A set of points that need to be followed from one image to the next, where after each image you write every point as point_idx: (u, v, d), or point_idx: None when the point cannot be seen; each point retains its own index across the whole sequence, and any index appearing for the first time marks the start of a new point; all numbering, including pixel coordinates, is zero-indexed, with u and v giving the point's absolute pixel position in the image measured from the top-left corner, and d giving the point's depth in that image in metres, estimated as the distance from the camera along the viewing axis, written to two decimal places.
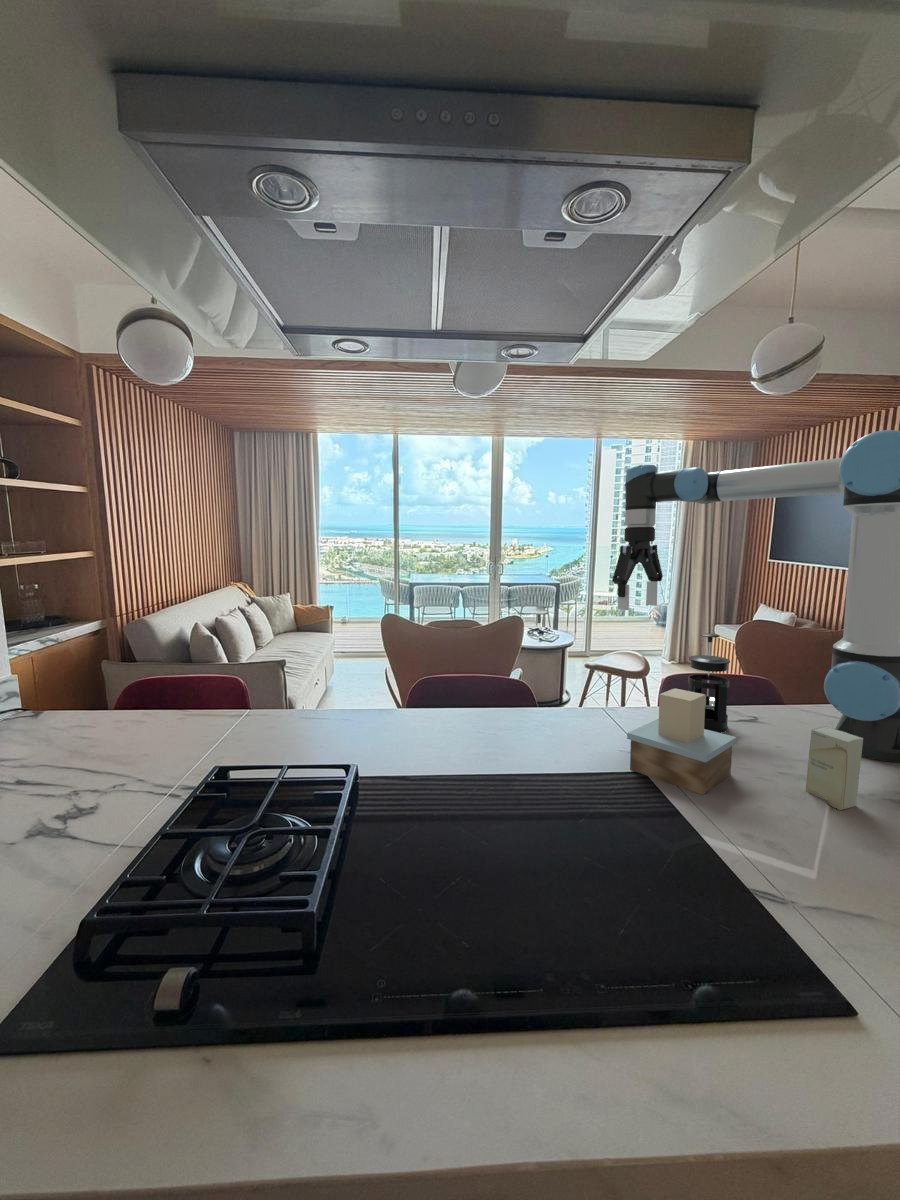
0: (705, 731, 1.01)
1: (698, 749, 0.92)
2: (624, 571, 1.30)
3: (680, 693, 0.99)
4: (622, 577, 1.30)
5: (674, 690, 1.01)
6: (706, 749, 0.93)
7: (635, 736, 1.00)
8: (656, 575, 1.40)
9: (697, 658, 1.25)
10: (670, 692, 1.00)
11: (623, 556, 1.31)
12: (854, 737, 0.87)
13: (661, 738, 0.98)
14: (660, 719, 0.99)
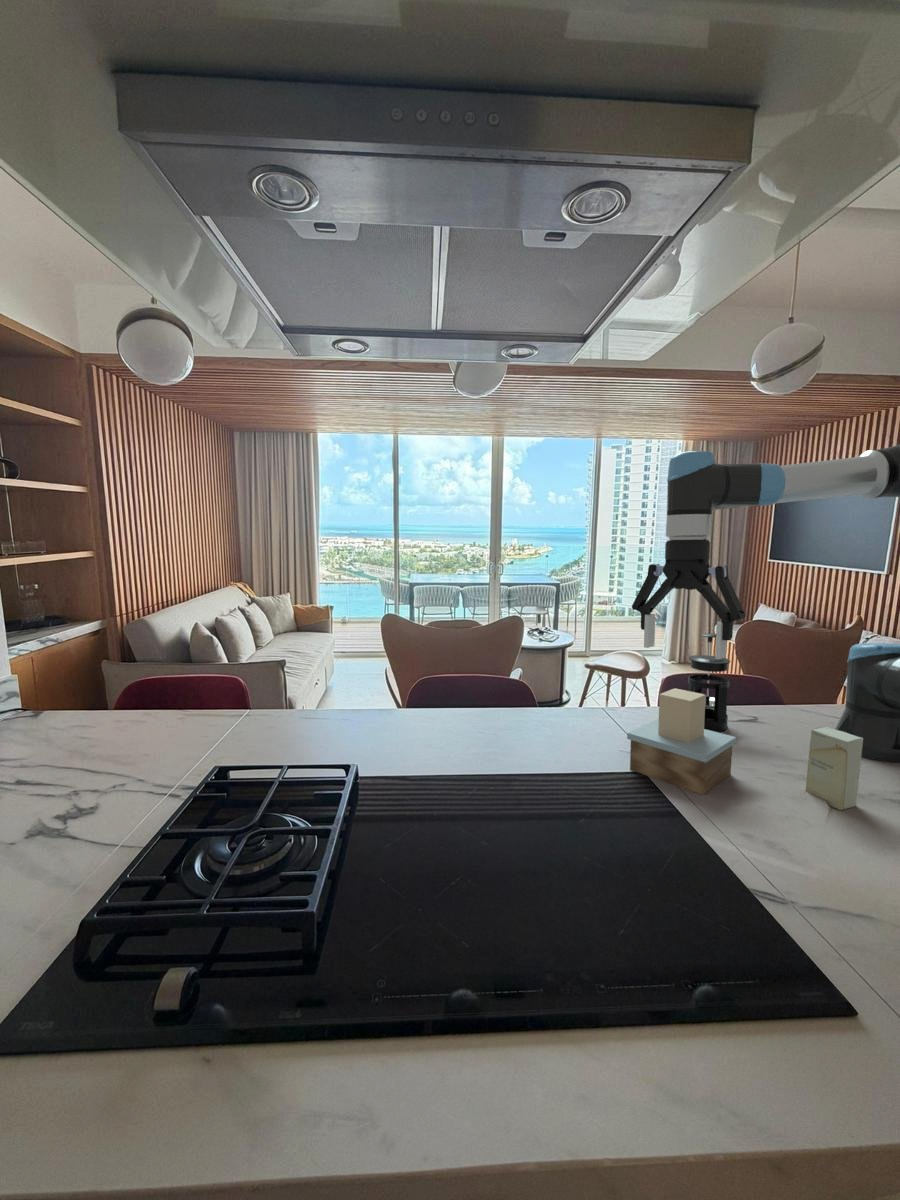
0: (705, 731, 1.01)
1: (698, 749, 0.92)
2: (639, 596, 1.03)
3: (680, 693, 0.99)
4: (635, 603, 1.03)
5: (674, 690, 1.01)
6: (706, 749, 0.93)
7: (635, 736, 1.00)
8: (720, 613, 0.91)
9: (697, 658, 1.25)
10: (670, 692, 1.00)
11: None
12: (854, 737, 0.87)
13: (661, 738, 0.98)
14: (660, 719, 0.99)
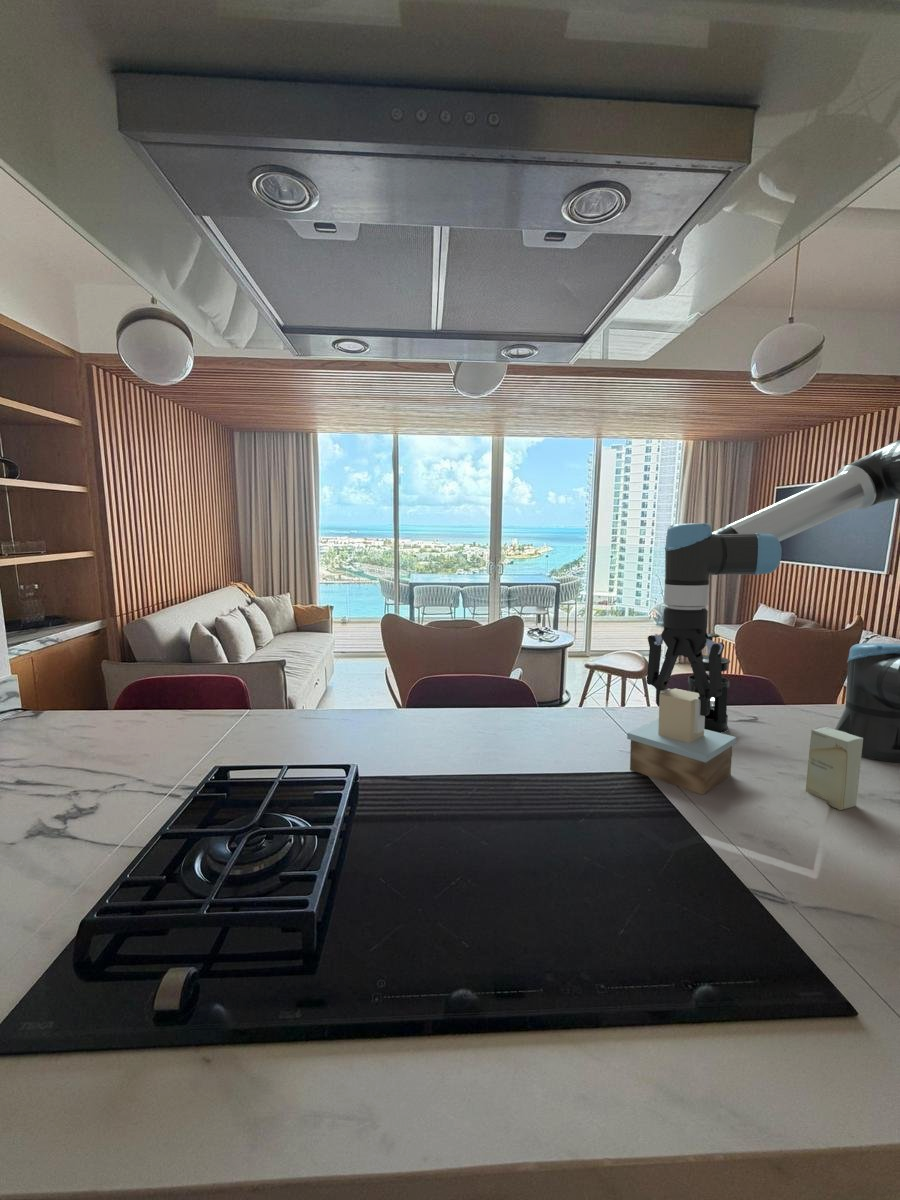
0: (705, 731, 1.01)
1: (698, 749, 0.92)
2: (650, 670, 1.02)
3: (680, 693, 0.99)
4: (649, 678, 1.02)
5: (674, 690, 1.01)
6: (706, 749, 0.93)
7: (635, 736, 1.00)
8: (700, 688, 0.95)
9: None
10: (670, 692, 1.00)
11: None
12: (854, 737, 0.87)
13: (661, 738, 0.98)
14: (660, 719, 0.99)
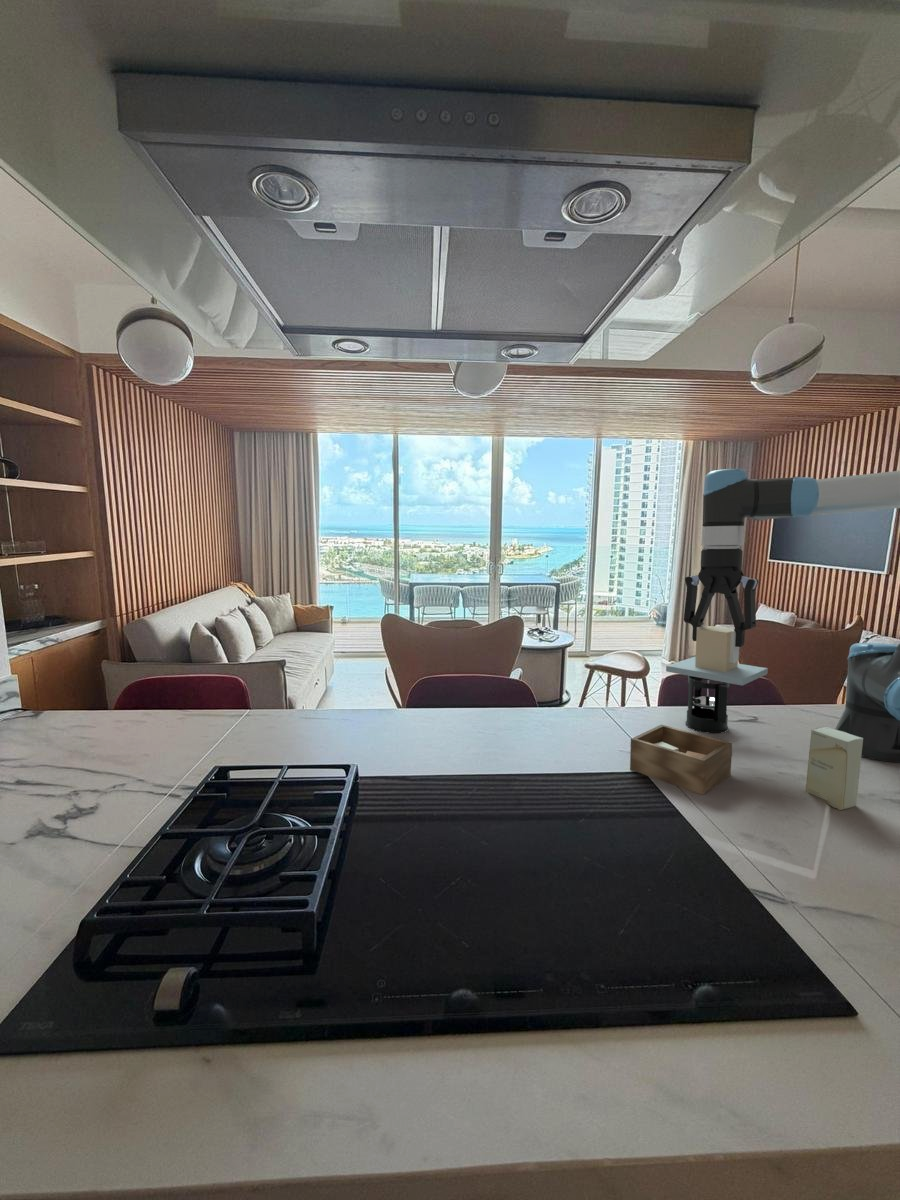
0: (738, 664, 1.10)
1: (735, 675, 1.01)
2: (687, 609, 1.11)
3: (716, 628, 1.08)
4: (686, 616, 1.11)
5: (709, 627, 1.10)
6: (741, 675, 1.01)
7: (674, 668, 1.08)
8: (736, 621, 1.03)
9: None
10: (706, 628, 1.09)
11: None
12: (854, 737, 0.87)
13: (698, 669, 1.06)
14: (697, 652, 1.08)
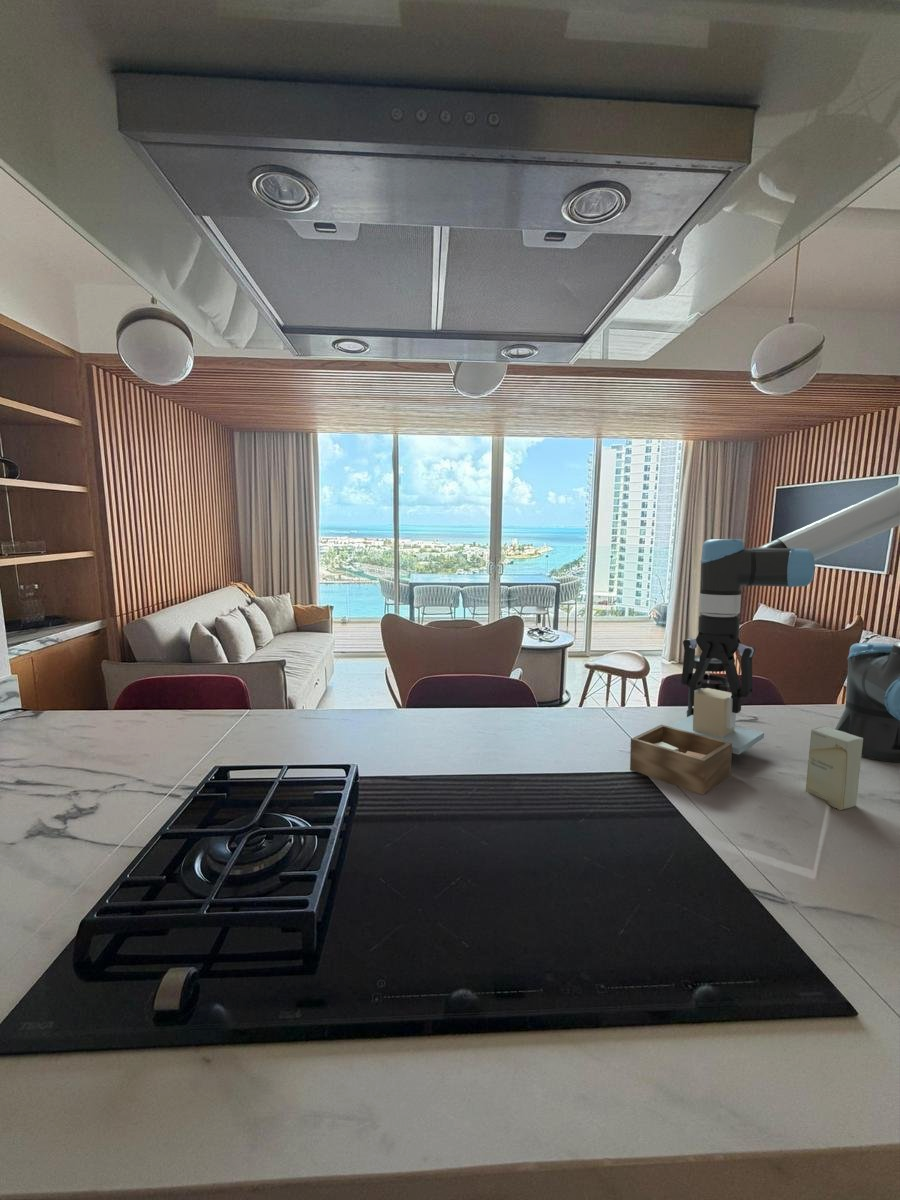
0: (735, 727, 1.11)
1: None
2: (684, 671, 1.12)
3: (713, 692, 1.09)
4: (683, 678, 1.12)
5: (707, 689, 1.11)
6: (738, 743, 1.03)
7: None
8: (732, 688, 1.05)
9: (697, 658, 1.25)
10: (704, 691, 1.10)
11: None
12: (854, 737, 0.87)
13: (695, 733, 1.08)
14: (695, 716, 1.09)
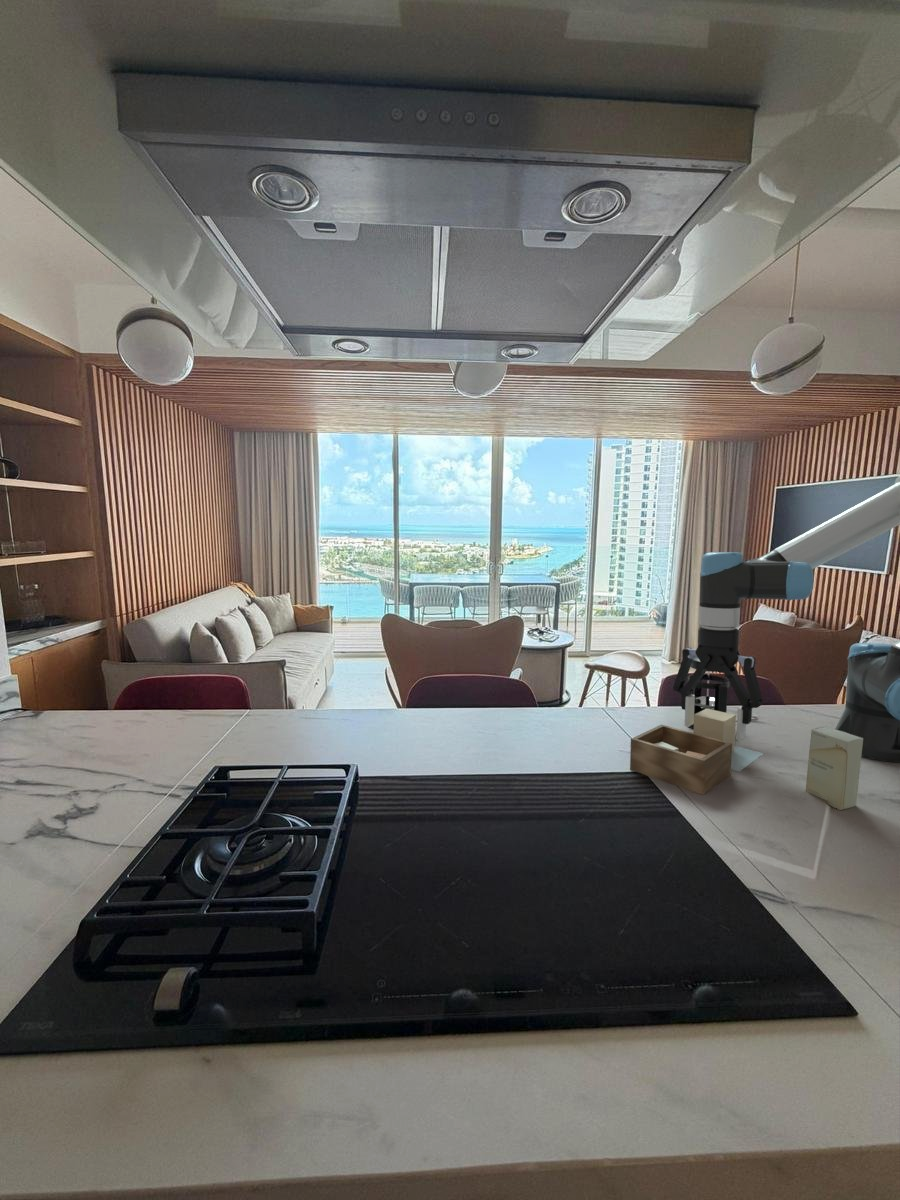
0: (735, 747, 1.12)
1: (731, 765, 1.03)
2: (678, 679, 1.13)
3: (713, 713, 1.10)
4: (675, 685, 1.14)
5: (707, 710, 1.12)
6: (738, 765, 1.03)
7: None
8: (741, 699, 1.04)
9: (697, 658, 1.25)
10: (704, 712, 1.11)
11: None
12: (854, 737, 0.87)
13: None
14: None
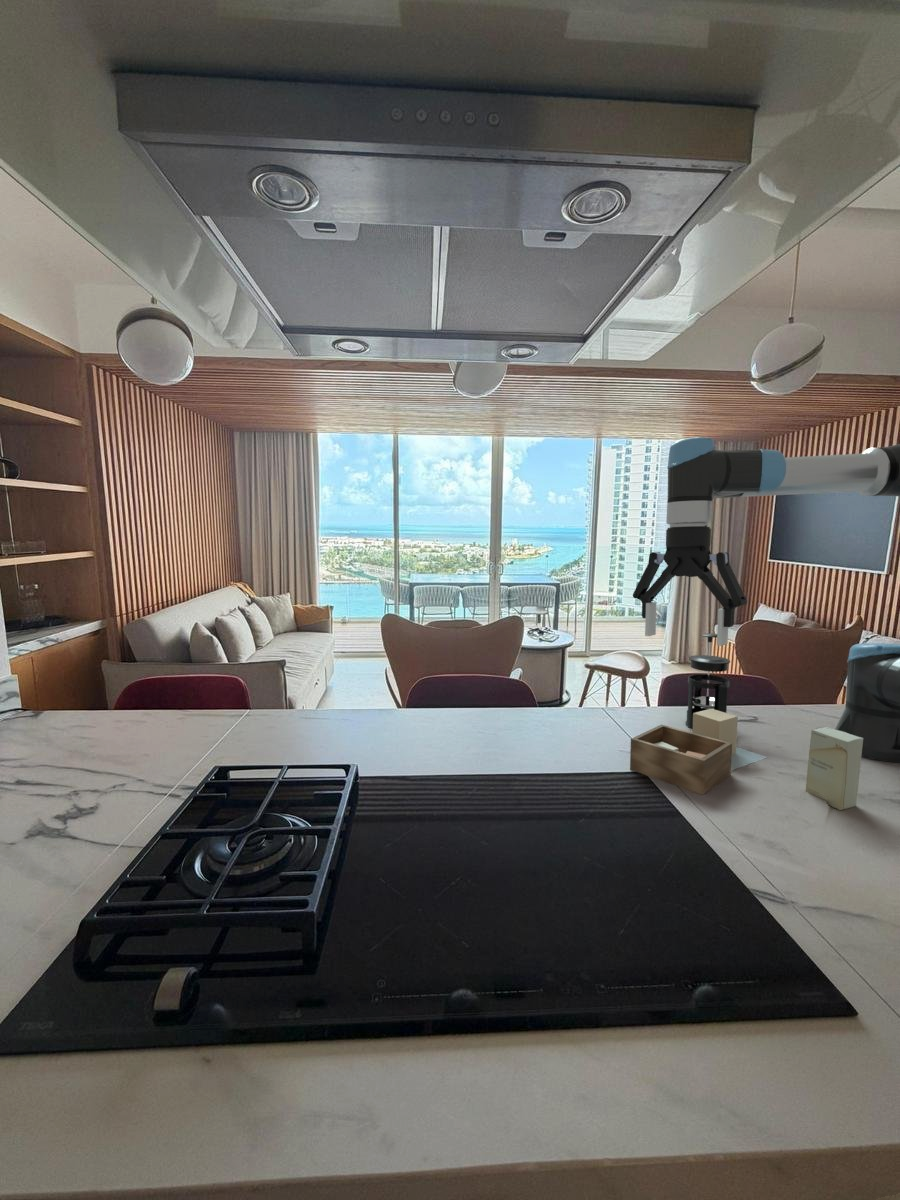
0: (739, 749, 1.11)
1: None
2: (640, 585, 1.02)
3: (714, 713, 1.10)
4: (636, 592, 1.03)
5: (709, 710, 1.12)
6: (731, 765, 1.03)
7: None
8: (721, 599, 0.91)
9: (697, 658, 1.25)
10: (705, 712, 1.11)
11: None
12: (854, 737, 0.87)
13: None
14: None
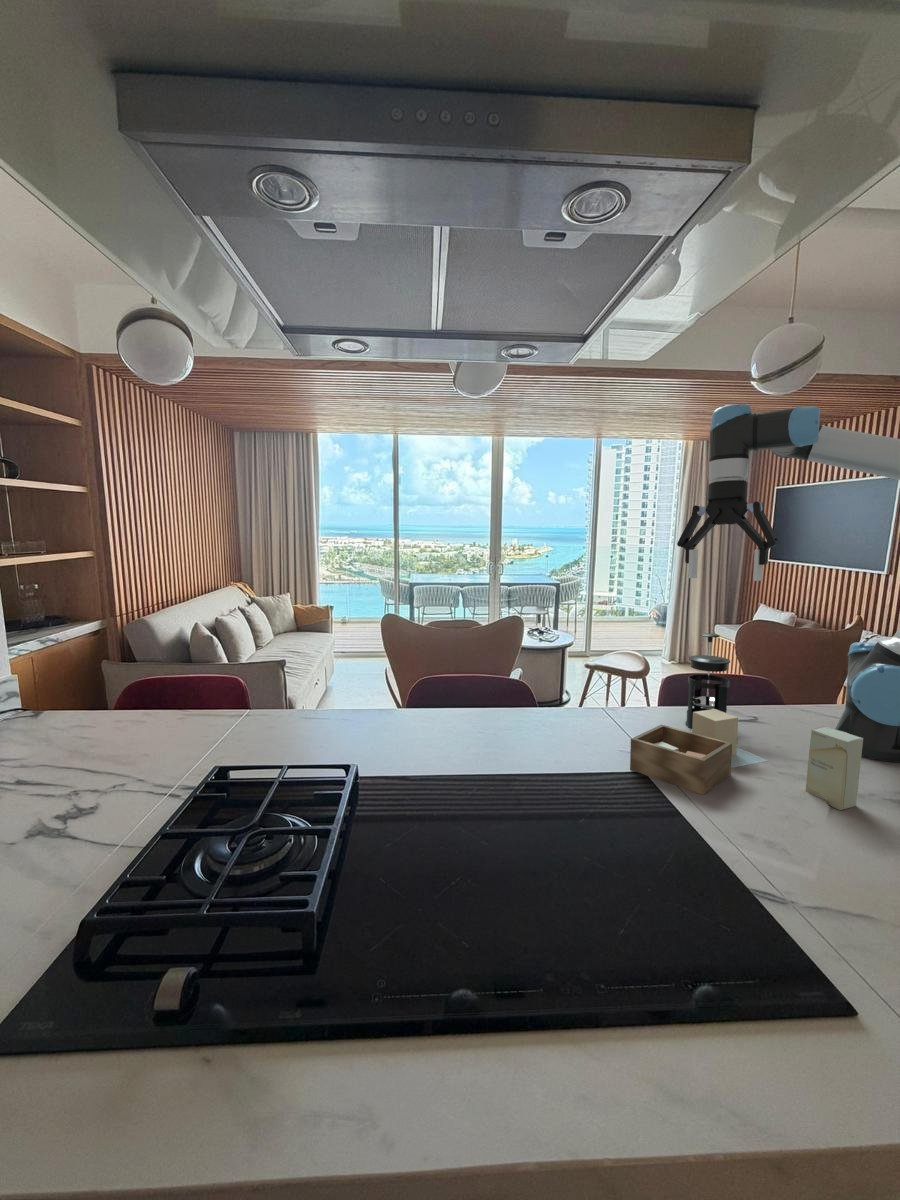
0: (742, 751, 1.10)
1: None
2: (684, 534, 1.19)
3: (714, 713, 1.10)
4: (680, 541, 1.20)
5: (712, 710, 1.12)
6: None
7: None
8: (757, 541, 1.08)
9: (697, 658, 1.25)
10: (706, 711, 1.11)
11: None
12: (854, 737, 0.87)
13: None
14: None
